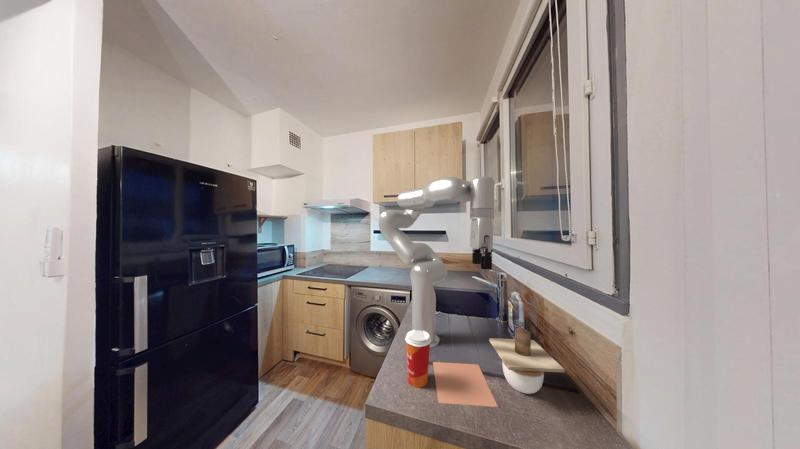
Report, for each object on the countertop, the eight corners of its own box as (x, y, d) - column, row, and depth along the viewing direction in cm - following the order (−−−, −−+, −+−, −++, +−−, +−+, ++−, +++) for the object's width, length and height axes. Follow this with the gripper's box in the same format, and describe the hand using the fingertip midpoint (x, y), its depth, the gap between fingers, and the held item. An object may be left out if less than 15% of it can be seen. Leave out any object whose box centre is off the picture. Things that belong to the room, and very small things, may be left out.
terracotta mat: (432, 363, 73) (432, 361, 73) (478, 366, 72) (478, 364, 72) (438, 405, 56) (438, 402, 56) (497, 409, 55) (497, 406, 55)
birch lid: (489, 340, 70) (489, 319, 70) (533, 342, 69) (533, 321, 69) (508, 369, 56) (509, 343, 56) (564, 372, 55) (565, 346, 55)
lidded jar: (551, 405, 56) (552, 369, 56) (507, 398, 58) (507, 363, 59) (534, 377, 67) (535, 347, 67) (497, 372, 69) (498, 342, 69)
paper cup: (406, 371, 68) (407, 327, 69) (431, 375, 67) (432, 330, 67) (402, 390, 61) (402, 340, 61) (429, 394, 59) (430, 343, 59)
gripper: (464, 216, 81) (463, 261, 81) (478, 213, 63) (477, 271, 63) (484, 216, 80) (484, 262, 80) (504, 213, 63) (503, 272, 63)
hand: (481, 266), depth 72 cm, fingers open, 9 cm apart
